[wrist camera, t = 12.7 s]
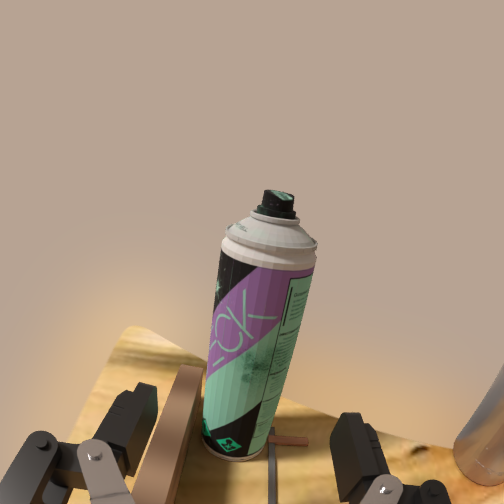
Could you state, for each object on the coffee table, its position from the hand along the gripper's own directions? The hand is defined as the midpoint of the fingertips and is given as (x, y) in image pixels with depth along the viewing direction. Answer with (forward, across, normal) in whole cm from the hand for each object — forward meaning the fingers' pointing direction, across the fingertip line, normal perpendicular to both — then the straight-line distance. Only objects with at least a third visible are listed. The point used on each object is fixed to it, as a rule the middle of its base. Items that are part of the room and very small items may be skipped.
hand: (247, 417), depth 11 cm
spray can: (+8, 0, +12) cm, 14 cm away
